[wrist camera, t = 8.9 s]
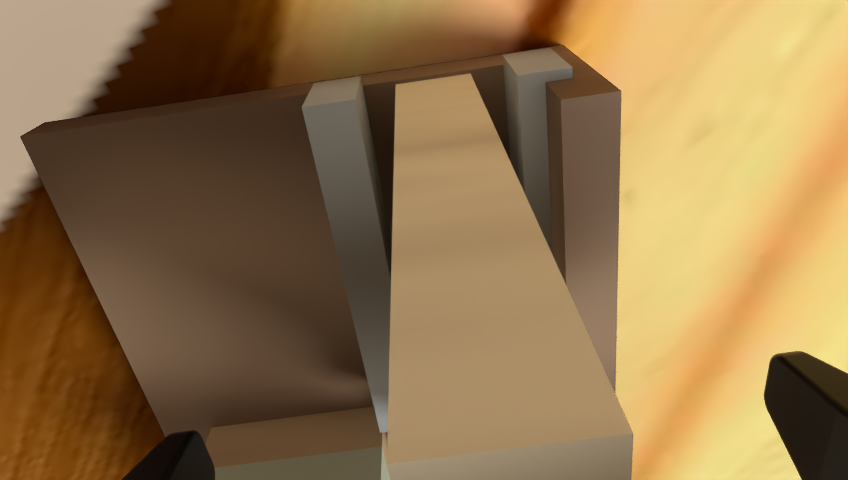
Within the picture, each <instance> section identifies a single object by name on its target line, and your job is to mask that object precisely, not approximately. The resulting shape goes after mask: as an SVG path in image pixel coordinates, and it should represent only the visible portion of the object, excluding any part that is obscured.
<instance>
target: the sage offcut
mask: <svg viewBox="0 0 848 480" xmlns="http://www.w3.org/2000/svg"><path fill="white" fill-rule="evenodd" d="M215 480H390V477H389V473H388V469H387V465H386V461H385V457H384V453H383V448H382V446H381V447H374V448H366V449H358V450H350V451H342V452H334V453H327V454H319V455H311V456H303V457H295V458H288V459H280V460H272V461H264V462H256V463H248V464H241V465H233V466H225V467H217V468H215Z"/></svg>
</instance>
